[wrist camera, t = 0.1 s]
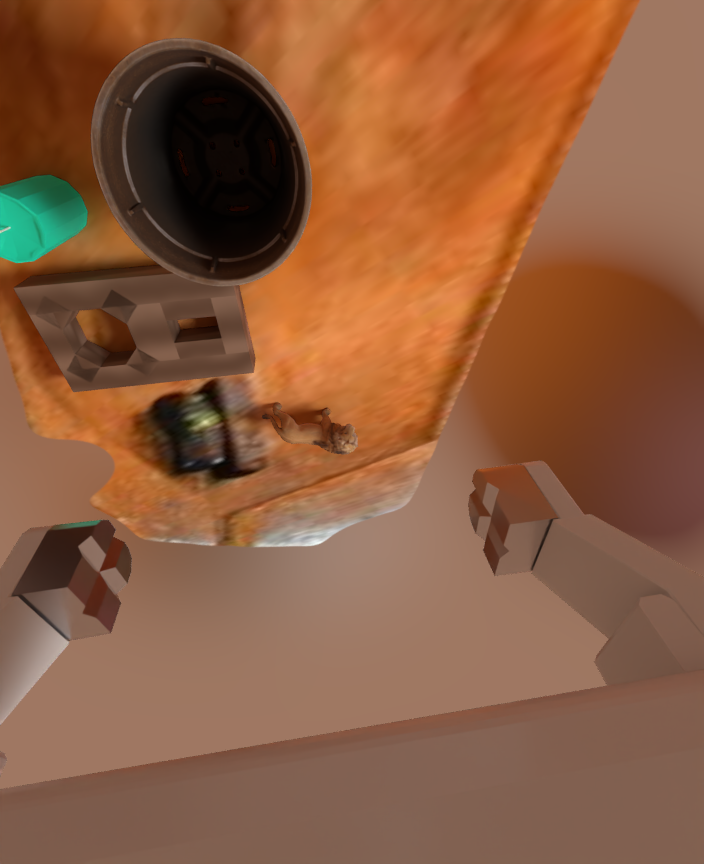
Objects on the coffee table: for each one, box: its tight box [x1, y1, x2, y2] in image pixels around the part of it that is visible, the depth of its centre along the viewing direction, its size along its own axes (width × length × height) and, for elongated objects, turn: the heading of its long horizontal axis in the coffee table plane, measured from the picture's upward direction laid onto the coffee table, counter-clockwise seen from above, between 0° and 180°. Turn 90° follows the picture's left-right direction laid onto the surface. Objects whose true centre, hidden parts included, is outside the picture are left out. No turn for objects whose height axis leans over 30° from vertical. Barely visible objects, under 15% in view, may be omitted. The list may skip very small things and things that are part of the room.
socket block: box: [14, 265, 255, 392], centre depth 52 cm, size 14×24×4 cm, turn 93°
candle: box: [0, 175, 88, 263], centre depth 40 cm, size 6×6×12 cm
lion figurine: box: [262, 403, 358, 454], centre depth 63 cm, size 15×5×9 cm, turn 86°
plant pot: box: [91, 38, 312, 286], centre depth 38 cm, size 16×16×16 cm
